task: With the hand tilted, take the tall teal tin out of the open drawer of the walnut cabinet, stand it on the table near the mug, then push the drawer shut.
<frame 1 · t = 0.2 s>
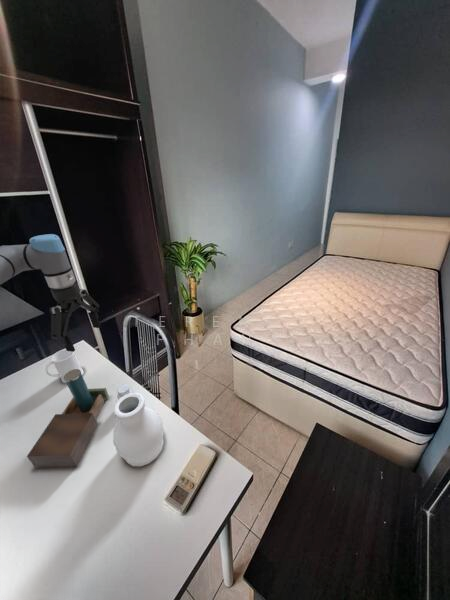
hand: (85, 338, 88), 25 cm above the table, tool pointing down, fingers open, 13 cm apart
vase: (144, 447, 77), on the table
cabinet: (69, 445, 79), on the table
mug: (68, 377, 106), on the table
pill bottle: (129, 405, 92), on the table
tin: (87, 406, 89), point 2 cm above the table, touching drawer
drawer: (85, 405, 88), point 3 cm above the table, slide at 10.0 cm, touching tin
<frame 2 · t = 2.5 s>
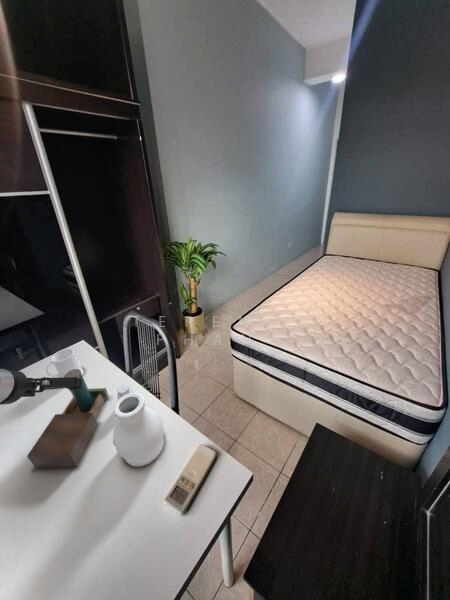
hand: (57, 387, 75), 20 cm above the table, tool tilted 40°, fingers open, 13 cm apart
nothing on the table moved.
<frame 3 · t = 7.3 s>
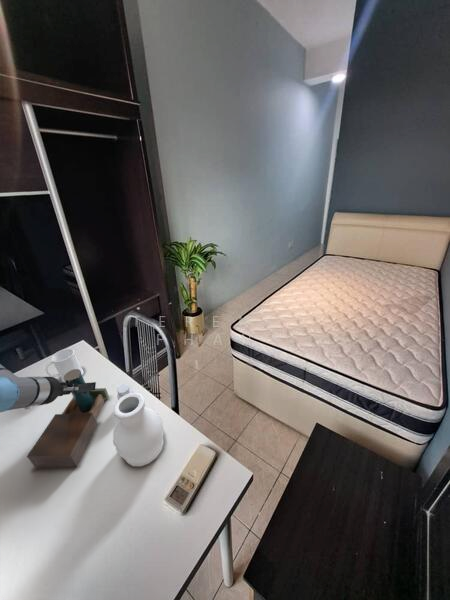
hand: (86, 386, 90), 8 cm above the table, tool tilted 45°, fingers closed on tin, 5 cm apart
tin: (87, 406, 89), point 2 cm above the table, touching drawer, gripper
everything else where it was.
when the fingers open (6 cm above the table, at t = 16.8 s): tin stays where it is, on the table.
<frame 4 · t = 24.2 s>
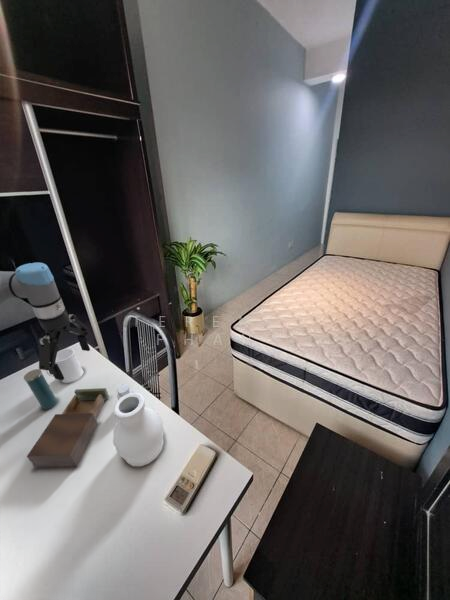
hand: (74, 363, 86), 19 cm above the table, tool pointing down, fingers open, 13 cm apart
tin: (50, 405, 93), on the table
drawer: (85, 405, 88), point 3 cm above the table, slide at 10.0 cm
everything else where it was.
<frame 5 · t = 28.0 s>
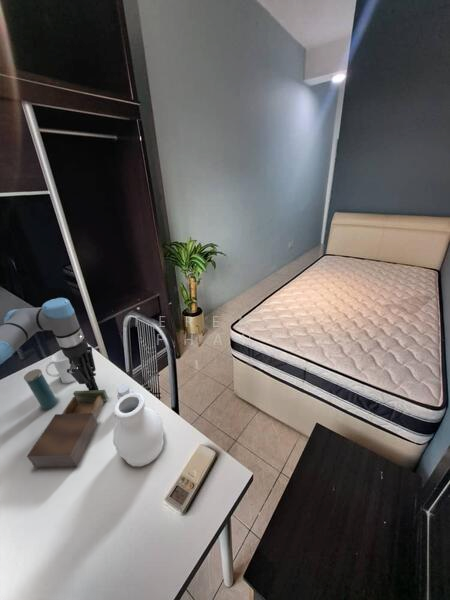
hand: (94, 390, 94), 3 cm above the table, tool pointing down, fingers closed
drawer: (84, 407, 88), point 3 cm above the table, slide at 9.3 cm
everything else where it was.
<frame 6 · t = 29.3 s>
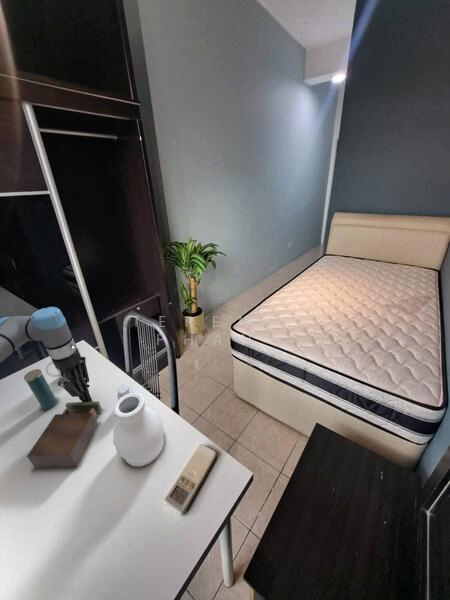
hand: (87, 402, 90), 3 cm above the table, tool pointing down, fingers closed
drawer: (76, 420, 83), point 3 cm above the table, slide at 4.1 cm, touching gripper
everything else where it was.
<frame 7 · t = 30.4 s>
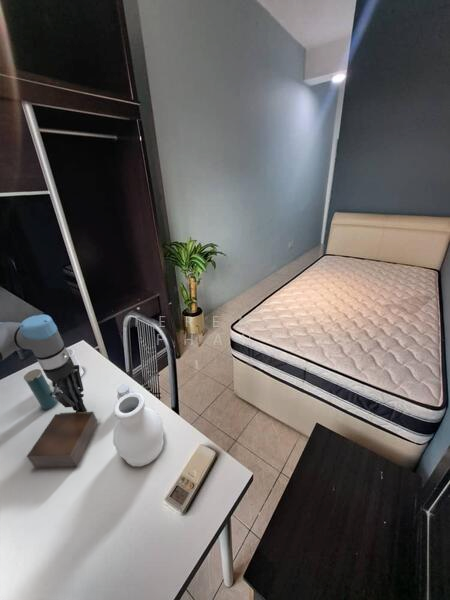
hand: (82, 412, 86), 3 cm above the table, tool pointing down, fingers closed
drawer: (70, 432, 80), point 3 cm above the table, slide at 0.0 cm, touching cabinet, gripper
everything else where it was.
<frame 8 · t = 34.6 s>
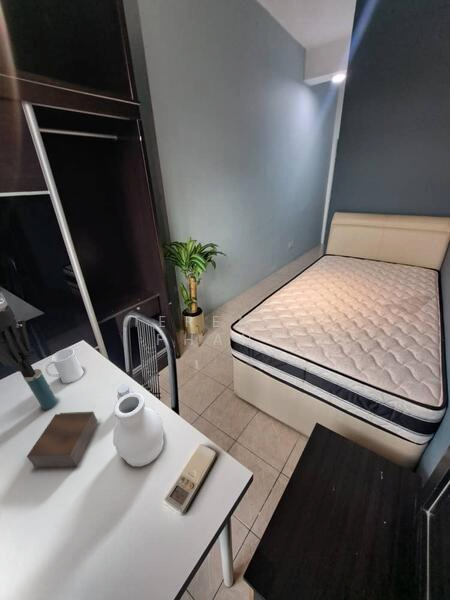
hand: (29, 375, 76), 22 cm above the table, tool pointing down, fingers closed
drawer: (70, 432, 80), point 3 cm above the table, slide at 0.0 cm
everything else where it was.
at the end: tin 14.0 cm from the mug (horizontally); tin tilted 0°; drawer slide at 0.0 cm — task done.
